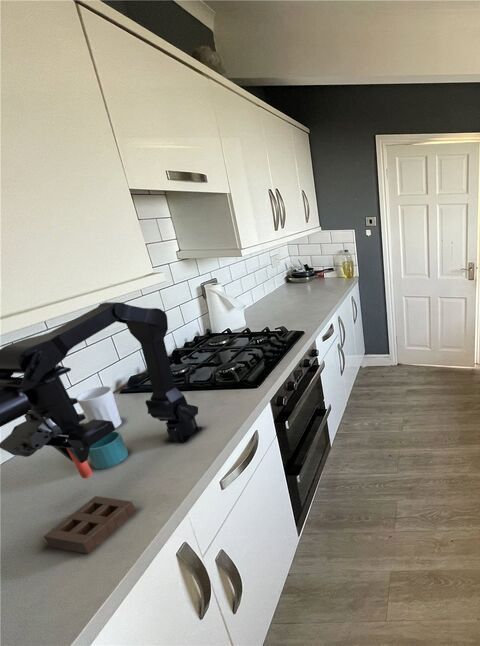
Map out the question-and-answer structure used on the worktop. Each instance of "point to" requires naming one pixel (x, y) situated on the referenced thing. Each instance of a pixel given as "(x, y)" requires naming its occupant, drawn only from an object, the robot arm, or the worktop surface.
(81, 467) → the red rod
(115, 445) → the teal round container
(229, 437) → the worktop surface
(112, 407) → the cup
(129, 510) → the stand
